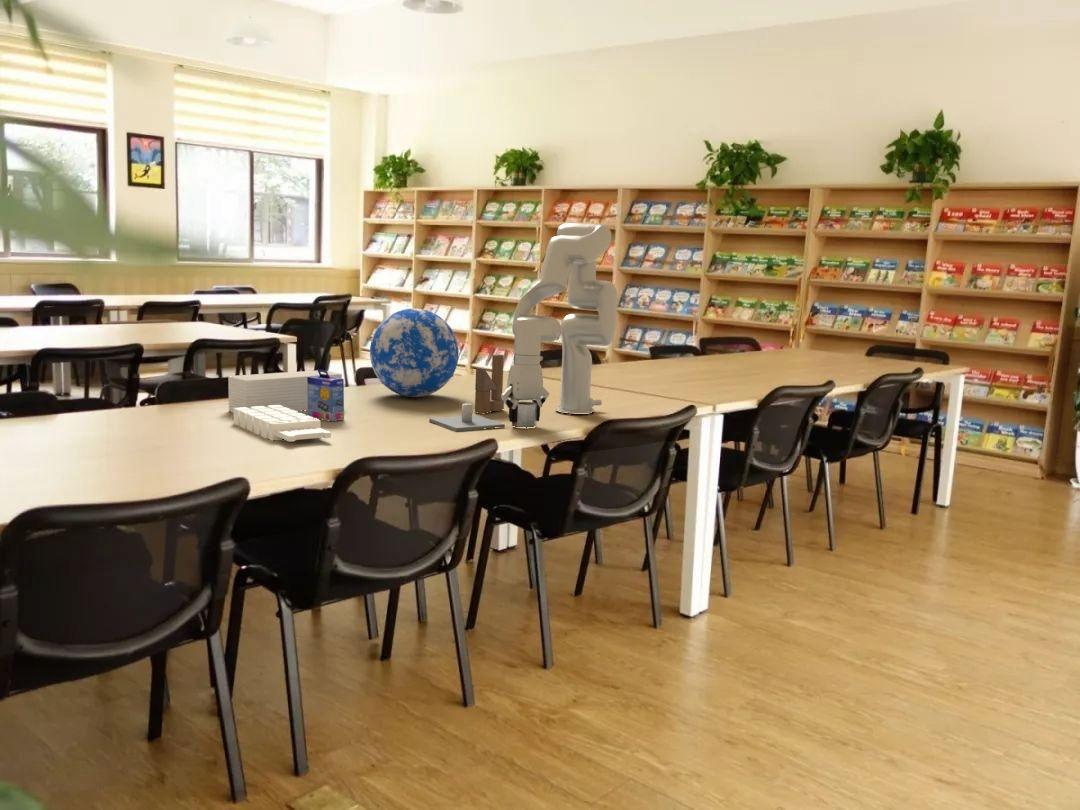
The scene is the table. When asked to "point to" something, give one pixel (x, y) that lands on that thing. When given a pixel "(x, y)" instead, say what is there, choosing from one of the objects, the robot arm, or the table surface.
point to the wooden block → (490, 387)
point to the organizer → (279, 423)
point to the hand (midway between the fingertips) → (524, 420)
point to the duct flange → (466, 421)
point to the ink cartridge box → (325, 397)
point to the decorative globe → (414, 352)
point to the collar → (526, 414)
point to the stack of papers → (271, 389)
